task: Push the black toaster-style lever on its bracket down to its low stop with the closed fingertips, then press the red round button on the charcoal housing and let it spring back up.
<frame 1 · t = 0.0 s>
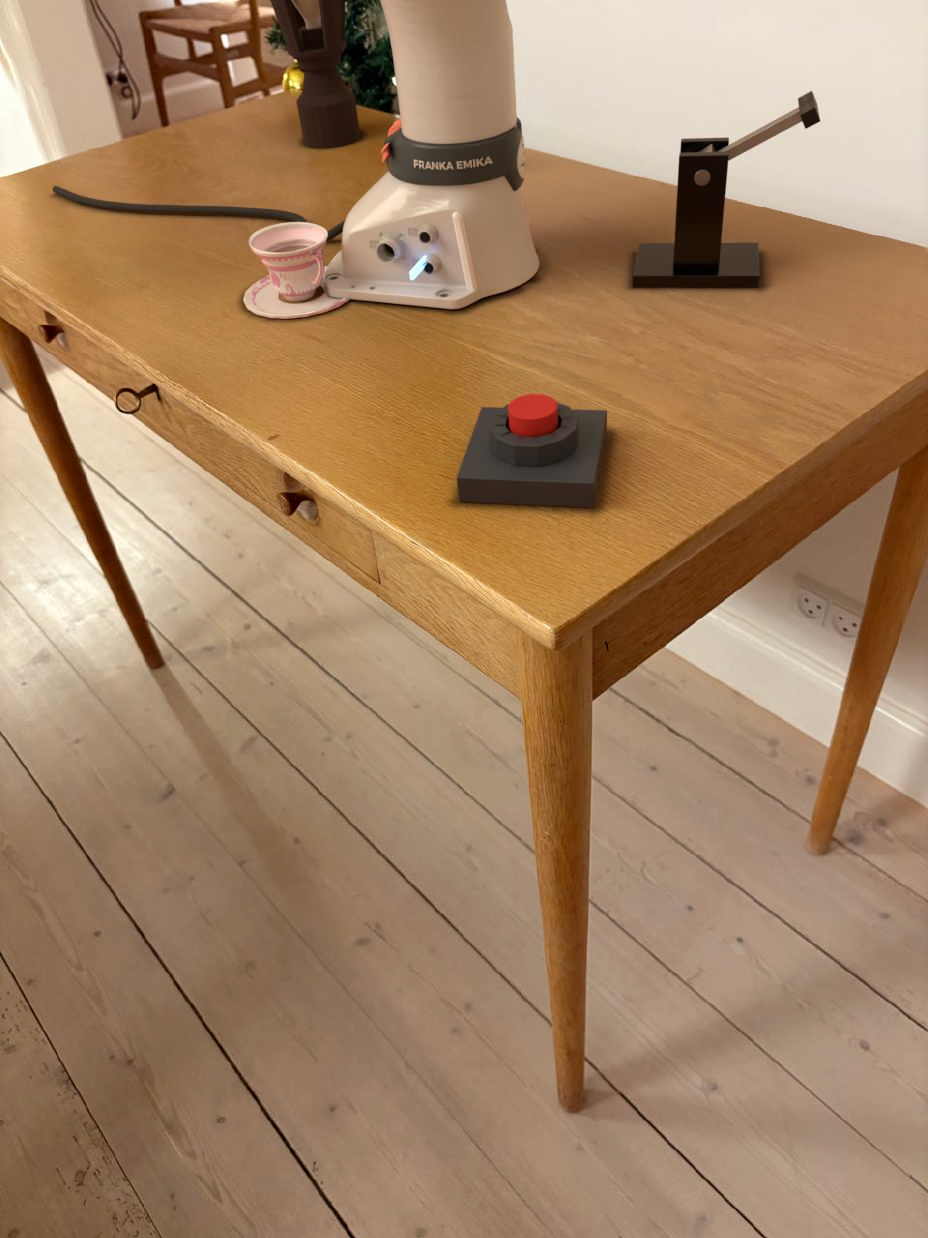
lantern: (332, 139, 144), on the table
teacup: (302, 296, 105), on the table, touching arm
button box: (535, 467, 77), on the table
button: (533, 416, 74), point 4 cm above the table, slide at 0.1 cm
lever: (750, 140, 92), point 12 cm above the table, hinge at 28.0°
bracket: (695, 270, 101), on the table
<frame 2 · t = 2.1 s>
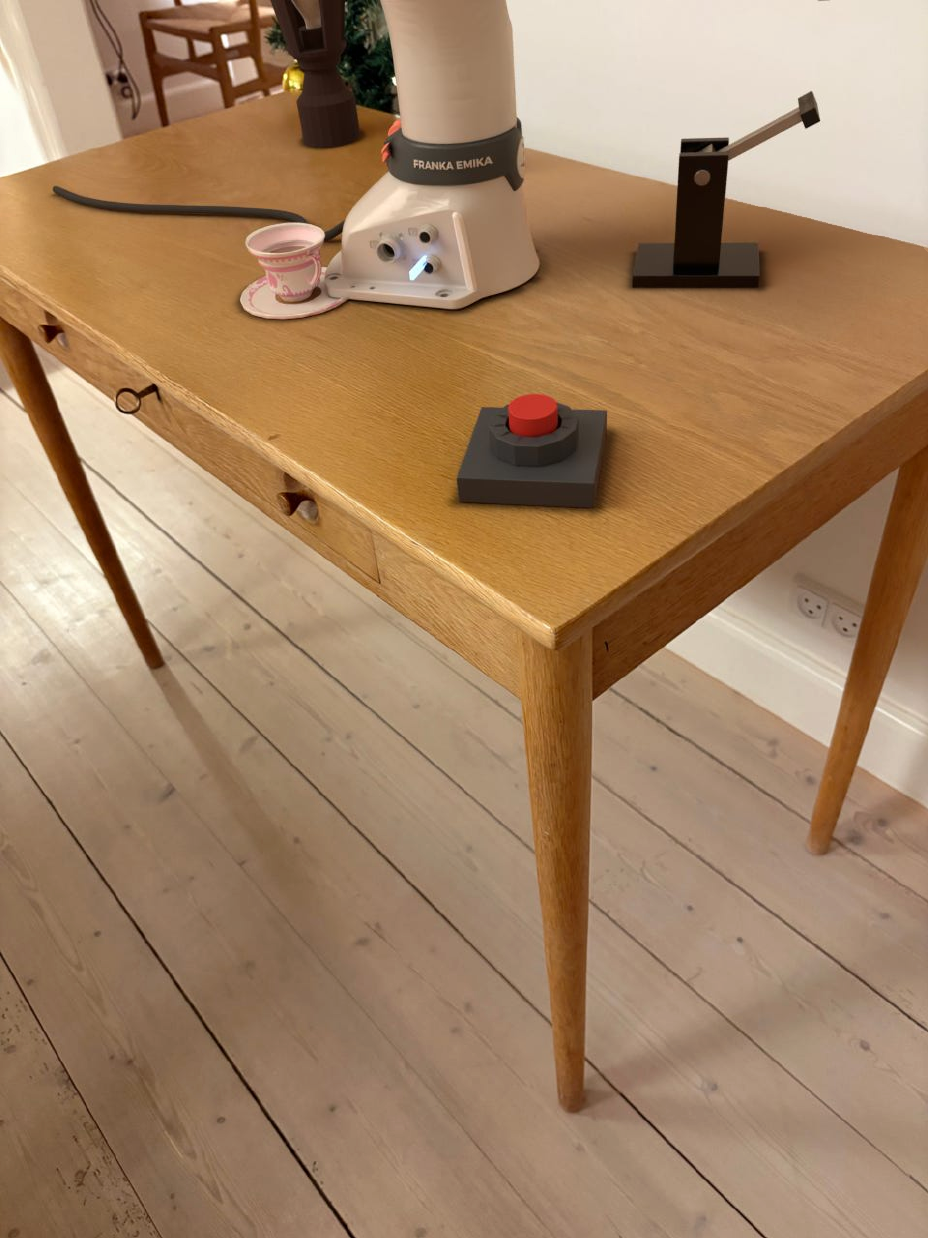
nothing on the table moved.
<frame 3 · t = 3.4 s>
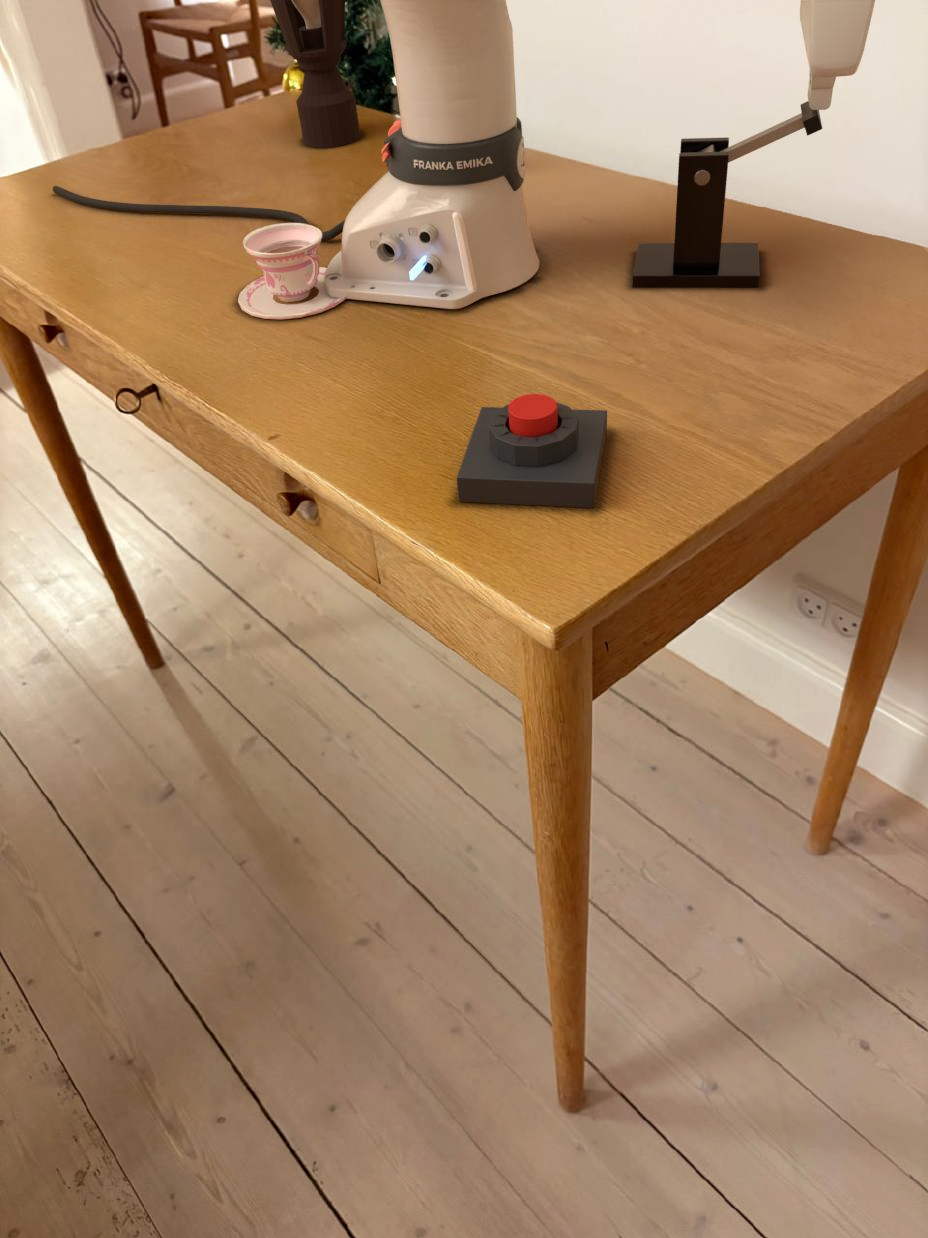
hand: (818, 104, 89), 15 cm above the table, tool pointing down, fingers closed, pressing on lever
lever: (751, 143, 92), point 12 cm above the table, hinge at 24.2°, touching gripper
everything else where it was.
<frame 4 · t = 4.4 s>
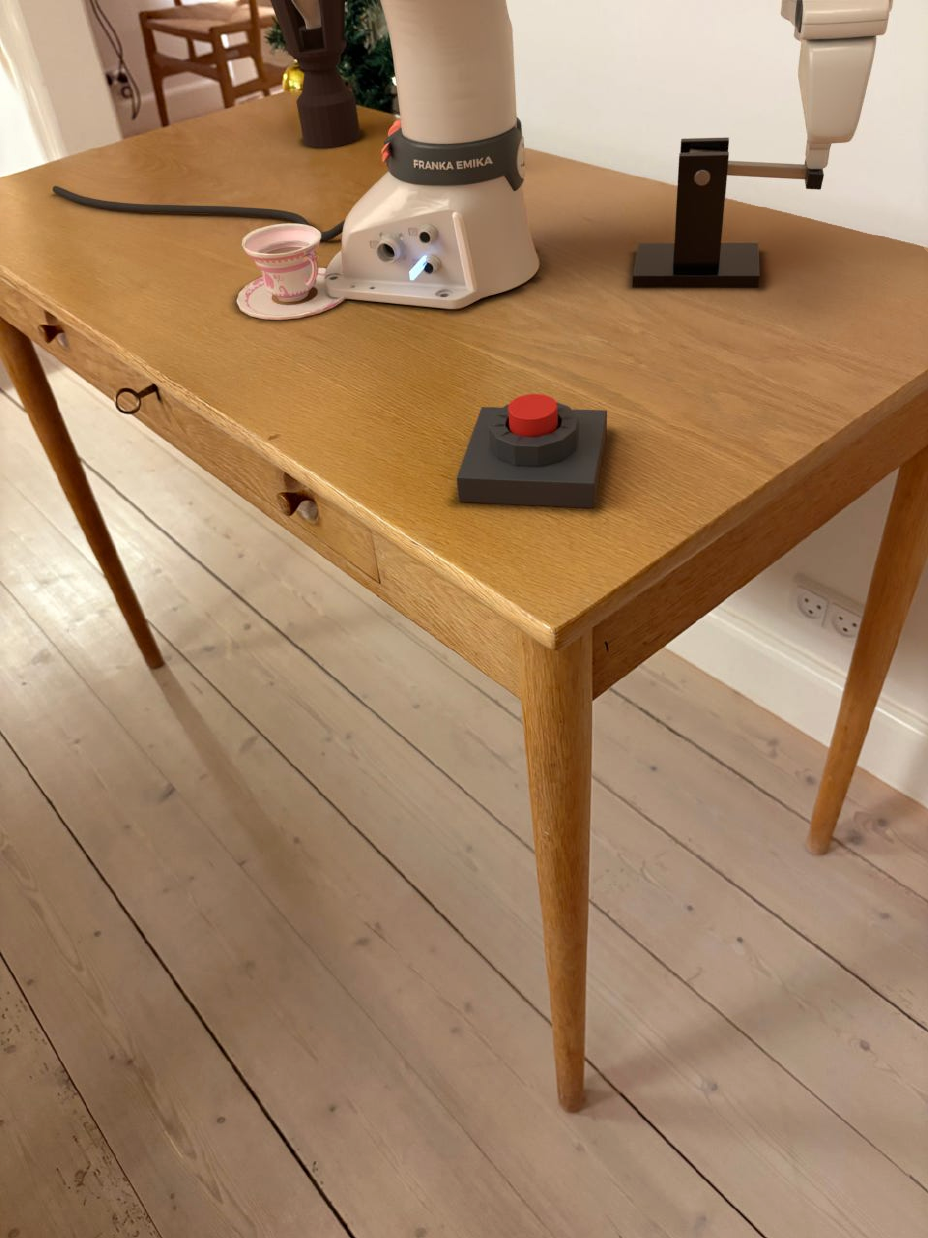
hand: (815, 163, 92), 10 cm above the table, tool pointing down, fingers closed, pressing on lever
lever: (753, 169, 94), point 10 cm above the table, hinge at -4.1°, touching gripper
everything else where it was.
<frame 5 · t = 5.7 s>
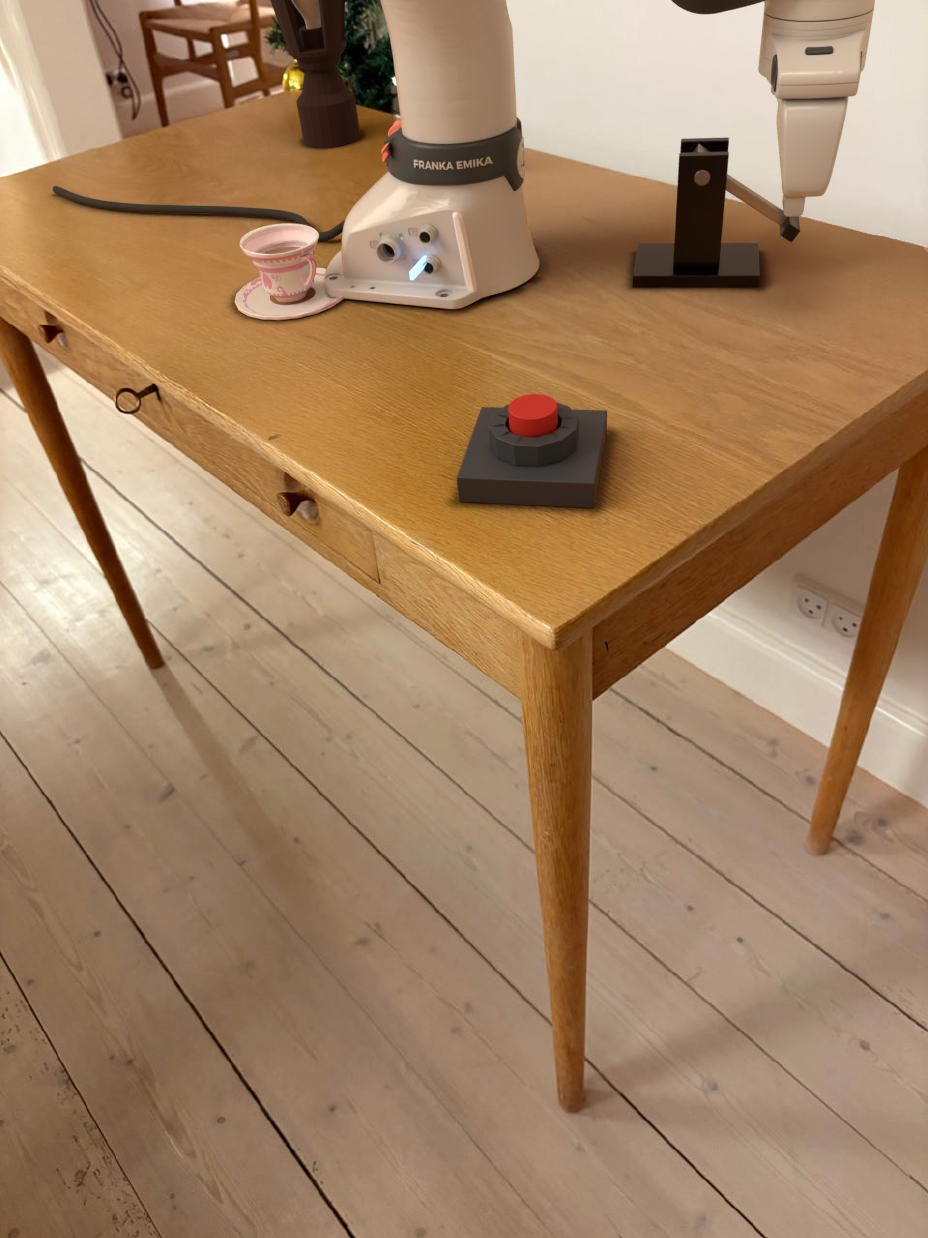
hand: (792, 210, 95), 6 cm above the table, tool pointing down, fingers closed, pressing on lever
lever: (743, 192, 95), point 8 cm above the table, hinge at -32.4°, touching gripper
everything else where it was.
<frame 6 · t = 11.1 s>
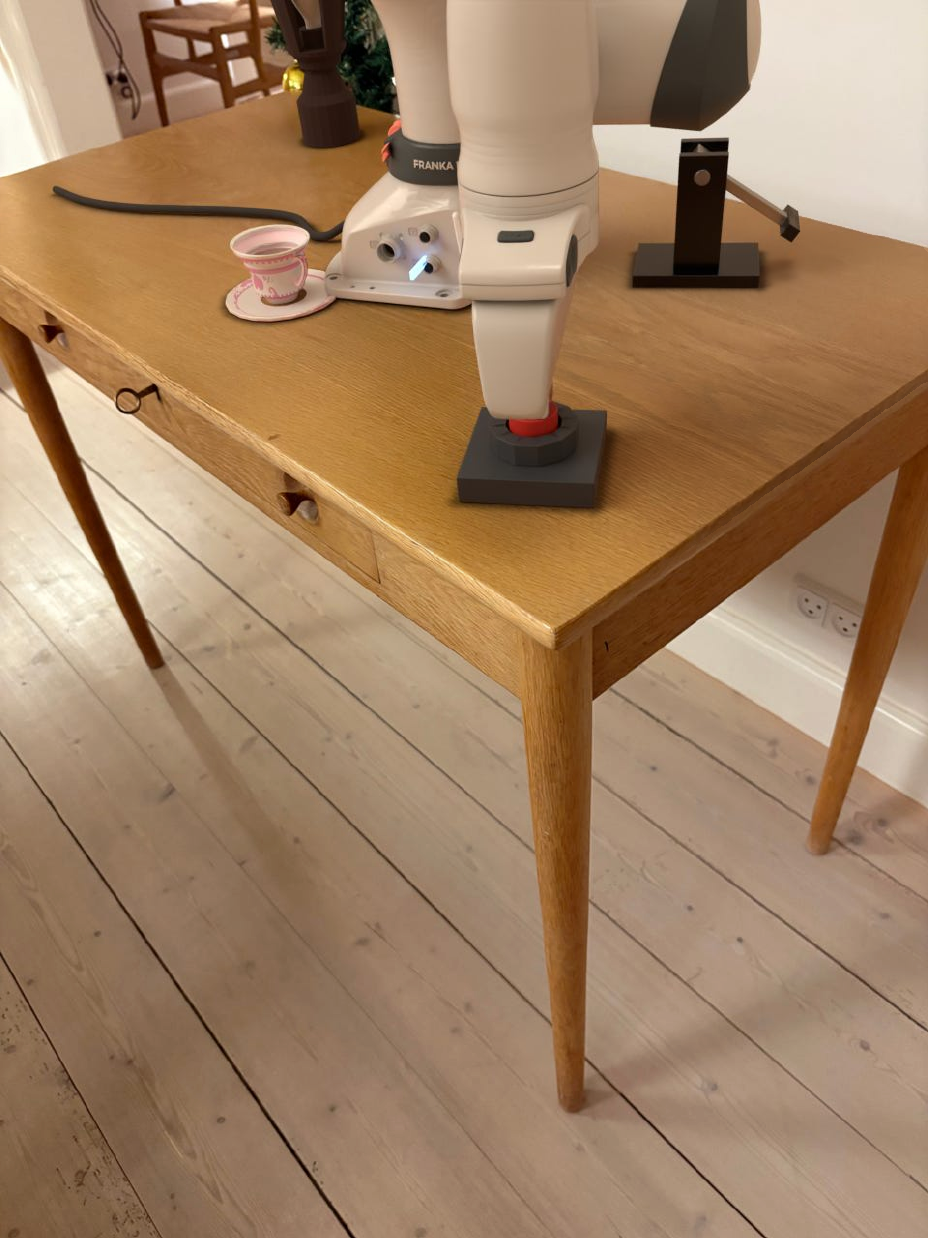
hand: (538, 408, 74), 5 cm above the table, tool pointing down, fingers closed, pressing on button
button: (533, 419, 75), point 4 cm above the table, slide at -0.2 cm, touching gripper
lever: (743, 192, 95), point 8 cm above the table, hinge at -32.5°
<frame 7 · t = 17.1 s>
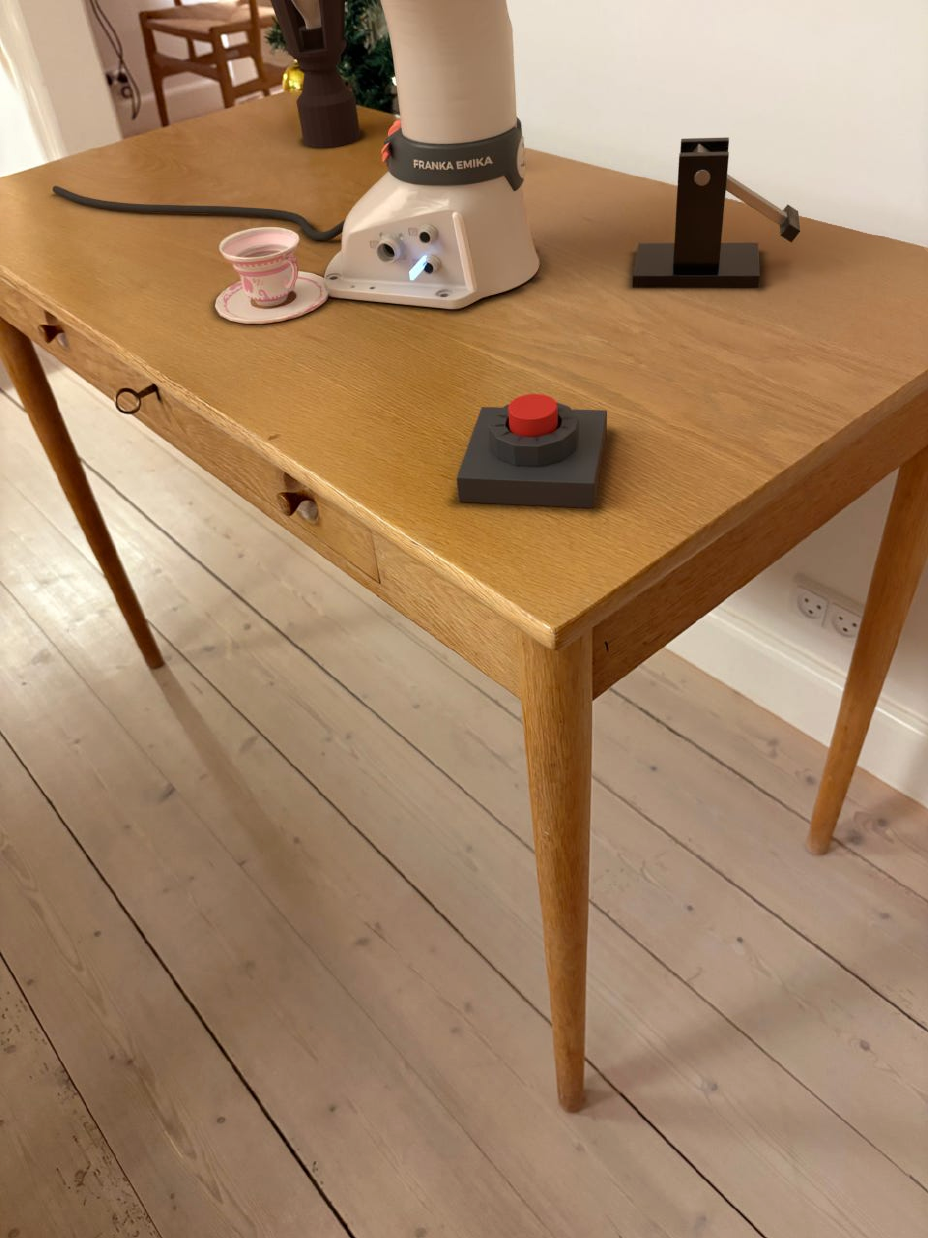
teacup: (274, 302, 105), on the table, touching arm
button: (533, 416, 74), point 4 cm above the table, slide at 0.1 cm
everything else where it was.
at the end: lever at -32° (first picture: +28°); button pushed in 0.9 cm at the most during the clip, back to where it started at the end; button slide at 0.1 cm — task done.
